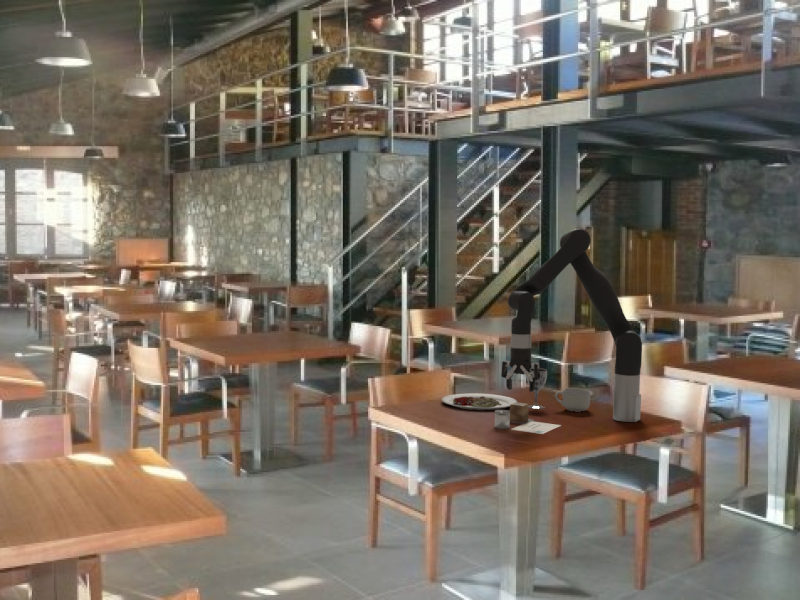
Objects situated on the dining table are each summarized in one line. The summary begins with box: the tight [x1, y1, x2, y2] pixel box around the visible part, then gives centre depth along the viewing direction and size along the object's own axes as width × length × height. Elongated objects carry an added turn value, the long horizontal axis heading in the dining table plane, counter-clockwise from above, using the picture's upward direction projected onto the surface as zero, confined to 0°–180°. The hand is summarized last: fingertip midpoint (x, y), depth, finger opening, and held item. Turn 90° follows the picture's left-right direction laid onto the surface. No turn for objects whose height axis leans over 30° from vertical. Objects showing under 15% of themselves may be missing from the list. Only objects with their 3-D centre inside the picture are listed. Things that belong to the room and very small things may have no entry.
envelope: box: [510, 420, 562, 435], centre depth 321 cm, size 12×17×1 cm
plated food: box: [441, 392, 518, 411], centre depth 364 cm, size 30×30×3 cm
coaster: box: [510, 418, 535, 425], centre depth 332 cm, size 9×9×1 cm
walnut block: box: [509, 401, 530, 422], centre depth 332 cm, size 5×5×6 cm
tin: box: [494, 409, 511, 430], centre depth 320 cm, size 5×5×6 cm
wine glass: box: [526, 367, 548, 410], centre depth 359 cm, size 8×8×15 cm
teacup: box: [554, 387, 592, 413], centre depth 355 cm, size 14×11×8 cm
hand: (520, 390), depth 331 cm, fingers open, 8 cm apart
